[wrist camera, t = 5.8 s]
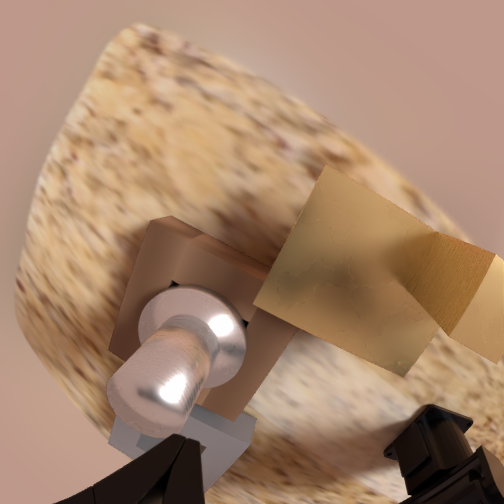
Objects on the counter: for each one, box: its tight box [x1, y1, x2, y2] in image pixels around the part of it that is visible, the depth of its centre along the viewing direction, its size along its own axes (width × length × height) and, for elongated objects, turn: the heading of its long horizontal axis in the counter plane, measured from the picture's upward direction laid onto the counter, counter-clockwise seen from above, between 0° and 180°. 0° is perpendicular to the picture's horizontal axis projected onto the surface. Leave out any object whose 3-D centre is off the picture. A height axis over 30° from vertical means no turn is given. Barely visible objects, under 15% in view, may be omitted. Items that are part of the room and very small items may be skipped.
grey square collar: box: [108, 403, 257, 493], centre depth 22 cm, size 10×10×3 cm
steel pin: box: [106, 284, 248, 438], centre depth 16 cm, size 6×6×10 cm
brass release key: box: [253, 165, 504, 377], centre depth 11 cm, size 9×7×6 cm
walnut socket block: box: [109, 216, 298, 422], centre depth 19 cm, size 10×10×3 cm
